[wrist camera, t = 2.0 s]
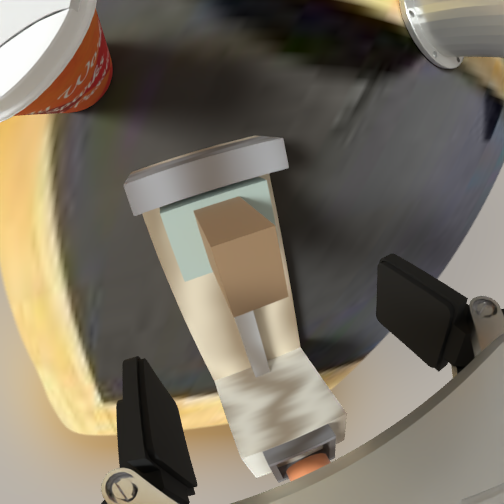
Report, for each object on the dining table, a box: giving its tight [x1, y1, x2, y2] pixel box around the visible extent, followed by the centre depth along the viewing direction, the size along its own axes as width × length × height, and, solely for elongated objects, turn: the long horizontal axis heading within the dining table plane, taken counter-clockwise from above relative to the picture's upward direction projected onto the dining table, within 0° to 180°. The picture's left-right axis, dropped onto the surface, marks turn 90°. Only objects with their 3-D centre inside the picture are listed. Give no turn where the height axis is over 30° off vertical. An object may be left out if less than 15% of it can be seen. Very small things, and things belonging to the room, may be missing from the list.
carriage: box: [160, 176, 289, 318], centre depth 18 cm, size 7×5×9 cm
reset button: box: [286, 453, 331, 481], centre depth 20 cm, size 4×4×2 cm
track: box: [124, 136, 347, 482], centre depth 22 cm, size 10×28×13 cm, turn 13°
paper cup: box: [0, 0, 113, 122], centre depth 10 cm, size 8×8×14 cm
